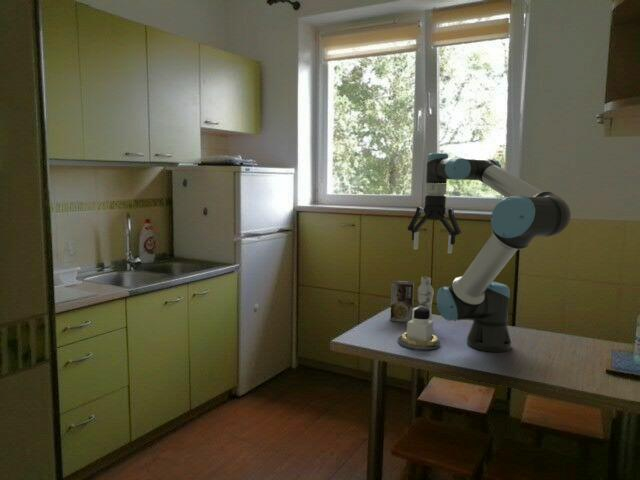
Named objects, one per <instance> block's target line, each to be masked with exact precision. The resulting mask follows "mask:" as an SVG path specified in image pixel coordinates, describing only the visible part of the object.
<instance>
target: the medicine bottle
mask: <svg viewBox="0 0 640 480" xmlns="http://www.w3.org/2000/svg"><path fill="white" fill-rule="evenodd" d="M429 315H430V310H429V309H427V308H424V307H418V306H417V307H413V310H412V320H411V321H409V322H407V325H406V327H407V328H406V332H407V338H409V339H411V340H415V341H431V340H432V334H433V332H434V331H433V330H434V321H433V320H432V321H430V320H429Z"/></svg>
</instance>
